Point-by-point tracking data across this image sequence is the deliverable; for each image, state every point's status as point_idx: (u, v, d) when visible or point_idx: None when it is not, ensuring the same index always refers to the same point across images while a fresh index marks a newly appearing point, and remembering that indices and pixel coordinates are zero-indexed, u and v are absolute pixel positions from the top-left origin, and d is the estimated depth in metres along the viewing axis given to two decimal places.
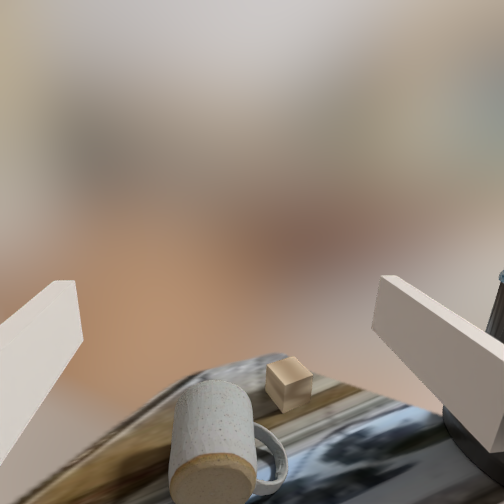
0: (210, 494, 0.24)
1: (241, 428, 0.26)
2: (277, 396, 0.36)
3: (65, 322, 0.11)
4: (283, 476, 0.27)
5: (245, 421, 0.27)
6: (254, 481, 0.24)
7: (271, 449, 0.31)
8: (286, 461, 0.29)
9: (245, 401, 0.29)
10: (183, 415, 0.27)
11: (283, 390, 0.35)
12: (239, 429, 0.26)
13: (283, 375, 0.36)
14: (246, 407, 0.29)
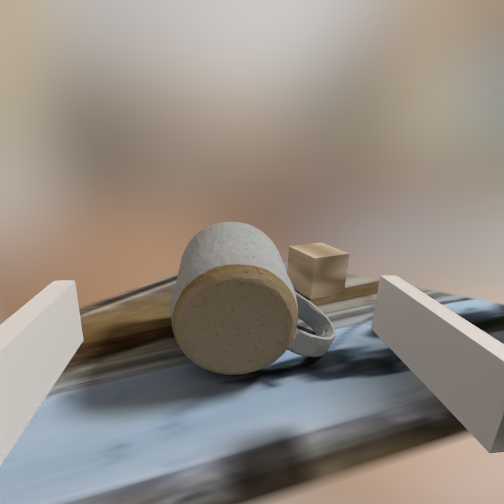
0: (232, 333, 0.16)
1: (274, 258, 0.18)
2: (303, 280, 0.29)
3: (65, 322, 0.11)
4: (331, 336, 0.19)
5: (278, 258, 0.19)
6: (296, 318, 0.17)
7: (308, 321, 0.23)
8: (332, 326, 0.21)
9: (275, 248, 0.22)
10: (192, 249, 0.20)
11: (312, 267, 0.27)
12: (272, 257, 0.18)
13: (310, 252, 0.28)
14: (278, 253, 0.21)
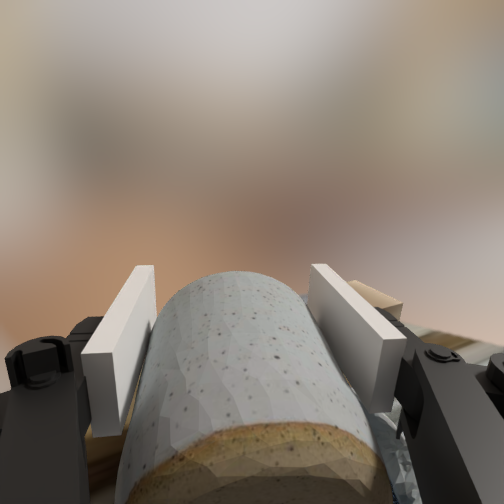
0: None
1: (328, 361, 0.09)
2: None
3: (150, 300, 0.13)
4: None
5: (328, 351, 0.10)
6: None
7: None
8: None
9: (313, 317, 0.12)
10: (166, 336, 0.10)
11: None
12: (325, 363, 0.09)
13: None
14: (319, 328, 0.12)
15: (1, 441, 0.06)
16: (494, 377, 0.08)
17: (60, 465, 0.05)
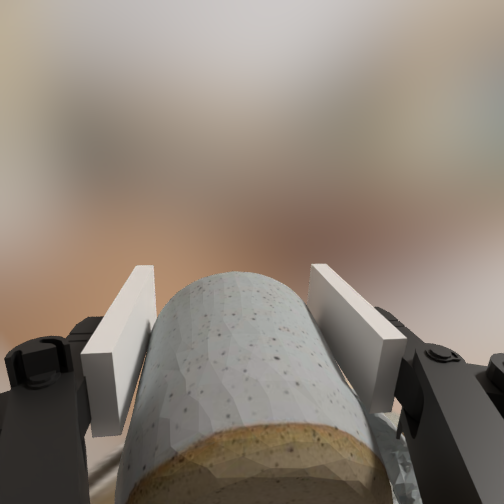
0: None
1: (328, 362, 0.09)
2: None
3: (150, 300, 0.13)
4: None
5: (328, 352, 0.10)
6: None
7: None
8: None
9: (313, 317, 0.12)
10: (166, 337, 0.10)
11: None
12: (325, 364, 0.09)
13: None
14: (319, 329, 0.12)
15: (1, 441, 0.06)
16: (494, 377, 0.08)
17: (59, 465, 0.05)
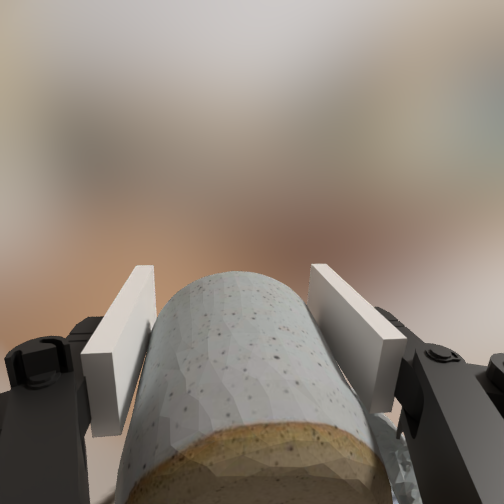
0: None
1: (328, 361, 0.09)
2: None
3: (150, 300, 0.13)
4: None
5: (328, 351, 0.10)
6: None
7: None
8: None
9: (312, 317, 0.12)
10: (166, 337, 0.10)
11: None
12: (325, 363, 0.09)
13: None
14: (319, 329, 0.12)
15: (1, 441, 0.06)
16: (494, 377, 0.08)
17: (59, 466, 0.05)
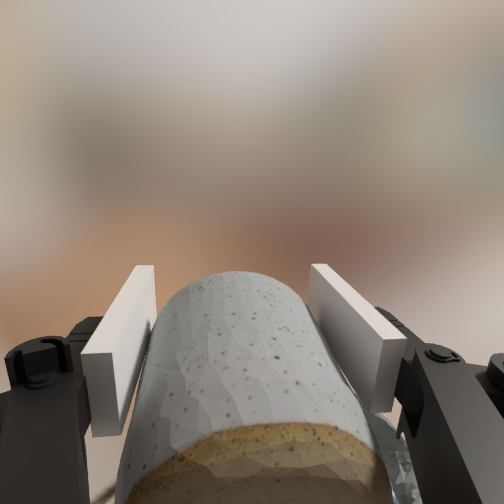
0: None
1: (328, 361, 0.09)
2: None
3: (150, 300, 0.13)
4: None
5: (328, 351, 0.10)
6: None
7: None
8: None
9: (312, 317, 0.12)
10: (166, 337, 0.10)
11: None
12: (326, 363, 0.09)
13: None
14: (319, 329, 0.12)
15: (1, 441, 0.06)
16: (494, 377, 0.08)
17: (59, 465, 0.05)
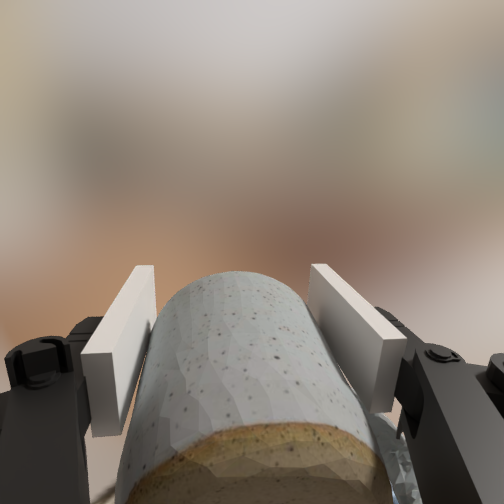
0: None
1: (328, 361, 0.09)
2: None
3: (150, 300, 0.13)
4: None
5: (328, 351, 0.10)
6: None
7: None
8: None
9: (312, 317, 0.12)
10: (166, 337, 0.10)
11: None
12: (326, 363, 0.09)
13: None
14: (319, 329, 0.12)
15: (1, 441, 0.06)
16: (494, 377, 0.08)
17: (59, 465, 0.05)
